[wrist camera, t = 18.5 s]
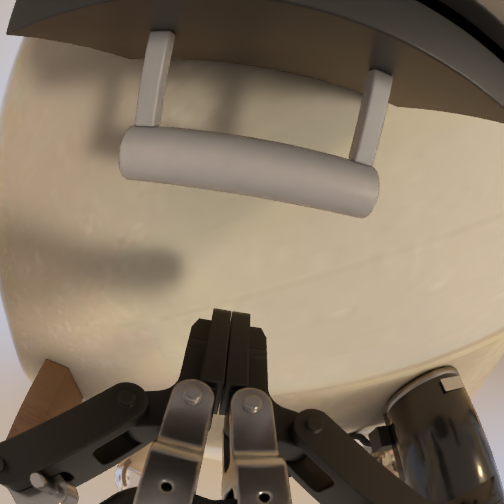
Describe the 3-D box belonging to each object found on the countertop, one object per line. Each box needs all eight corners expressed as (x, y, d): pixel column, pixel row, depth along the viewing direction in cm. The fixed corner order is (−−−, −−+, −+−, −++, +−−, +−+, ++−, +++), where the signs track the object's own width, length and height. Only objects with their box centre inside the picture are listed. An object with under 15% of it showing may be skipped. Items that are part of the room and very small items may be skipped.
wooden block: (45, 358, 22) (-6, 466, 9) (68, 367, 22) (20, 484, 9) (62, 389, 25) (25, 484, 12) (83, 397, 25) (49, 498, 12)
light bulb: (184, 404, 24) (167, 514, 13) (199, 431, 27) (189, 521, 17) (123, 397, 24) (95, 494, 13) (145, 425, 27) (127, 508, 17)
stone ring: (357, 449, 32) (366, 503, 23) (372, 439, 30) (384, 497, 21) (397, 446, 34) (409, 492, 25) (412, 437, 32) (425, 484, 23)
